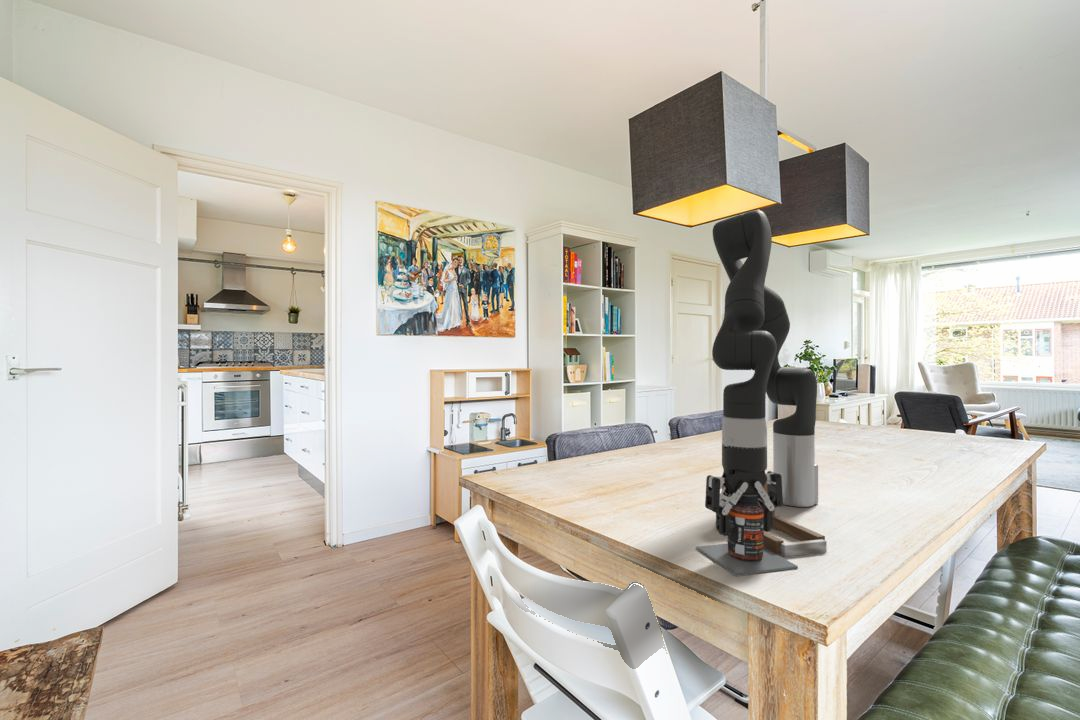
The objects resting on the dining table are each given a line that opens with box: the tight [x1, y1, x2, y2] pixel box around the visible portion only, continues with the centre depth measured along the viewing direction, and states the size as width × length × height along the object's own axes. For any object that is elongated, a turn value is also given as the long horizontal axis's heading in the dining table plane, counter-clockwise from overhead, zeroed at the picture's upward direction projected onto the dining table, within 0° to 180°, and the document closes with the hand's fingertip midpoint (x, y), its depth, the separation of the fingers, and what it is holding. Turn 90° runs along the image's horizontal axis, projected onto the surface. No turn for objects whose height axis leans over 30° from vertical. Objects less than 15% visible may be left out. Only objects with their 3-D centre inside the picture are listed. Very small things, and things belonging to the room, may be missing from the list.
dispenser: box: [721, 483, 827, 558], centre depth 99 cm, size 11×18×10 cm, turn 14°
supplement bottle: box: [727, 494, 764, 561], centre depth 88 cm, size 6×6×11 cm
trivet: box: [695, 542, 799, 577], centre depth 88 cm, size 12×12×1 cm
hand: (744, 532), depth 88 cm, fingers open, 8 cm apart
